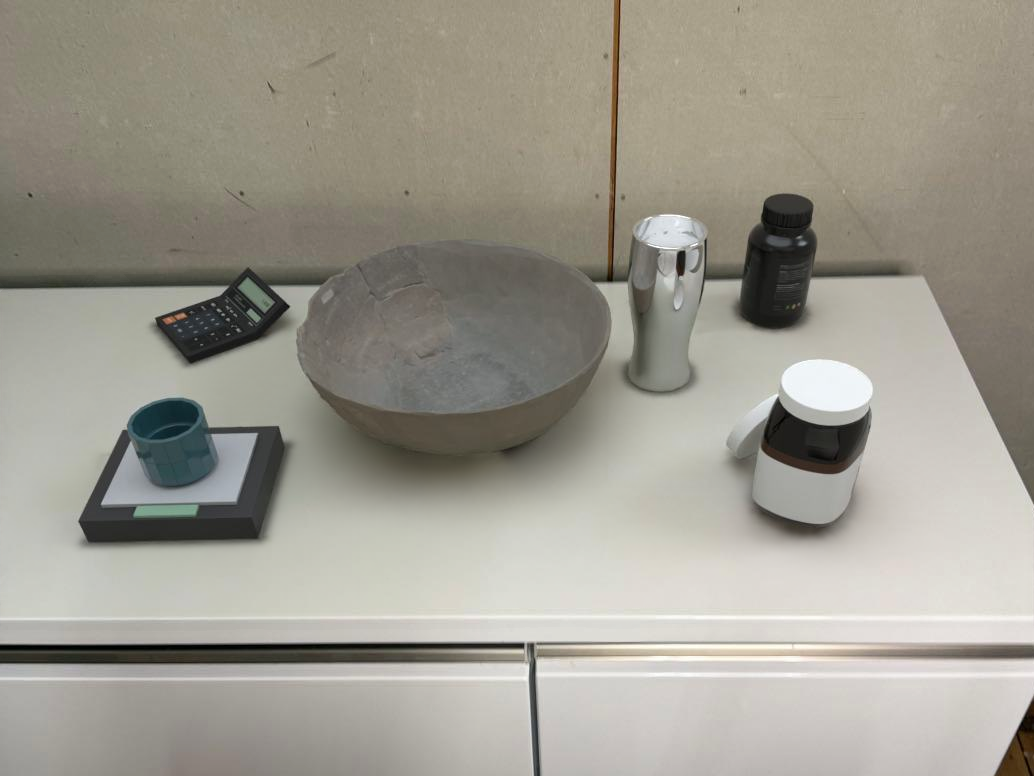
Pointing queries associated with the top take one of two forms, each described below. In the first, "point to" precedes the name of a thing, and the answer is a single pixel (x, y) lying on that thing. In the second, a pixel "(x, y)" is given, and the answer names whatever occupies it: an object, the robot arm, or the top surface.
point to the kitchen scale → (187, 493)
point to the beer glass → (664, 297)
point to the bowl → (454, 344)
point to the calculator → (224, 318)
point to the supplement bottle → (779, 262)
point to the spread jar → (807, 442)
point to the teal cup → (172, 441)
